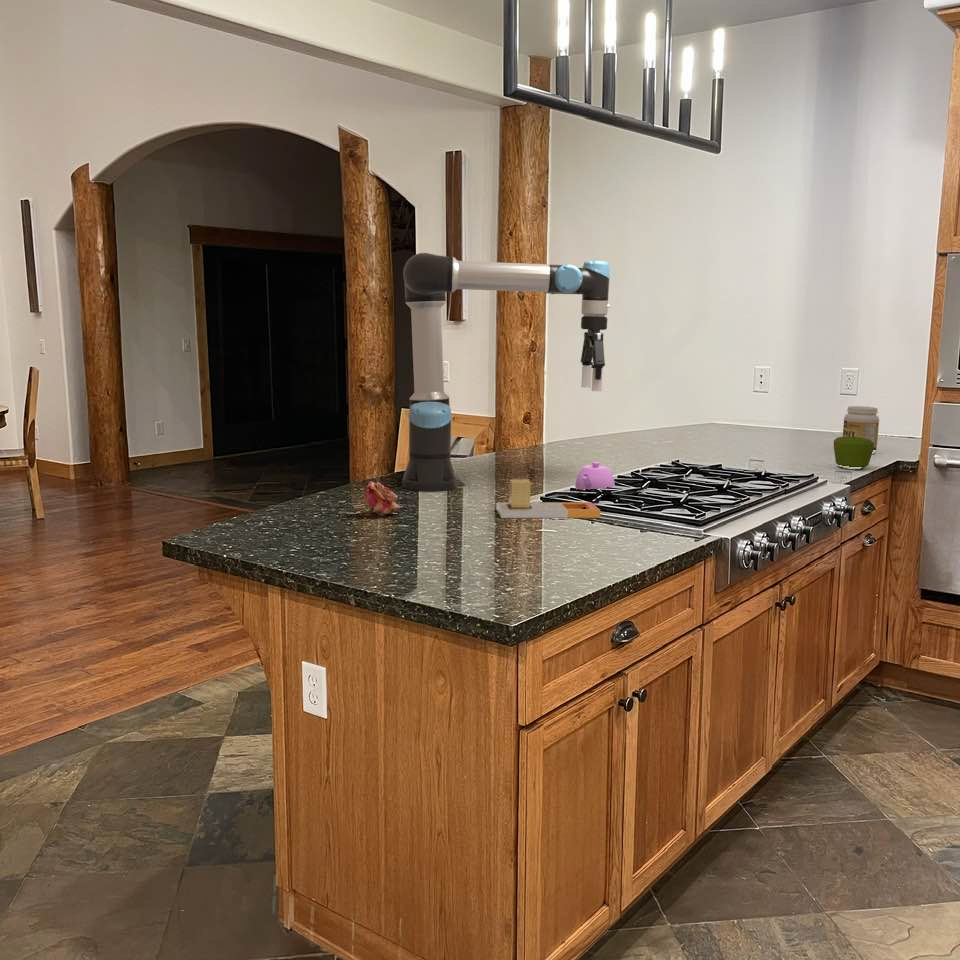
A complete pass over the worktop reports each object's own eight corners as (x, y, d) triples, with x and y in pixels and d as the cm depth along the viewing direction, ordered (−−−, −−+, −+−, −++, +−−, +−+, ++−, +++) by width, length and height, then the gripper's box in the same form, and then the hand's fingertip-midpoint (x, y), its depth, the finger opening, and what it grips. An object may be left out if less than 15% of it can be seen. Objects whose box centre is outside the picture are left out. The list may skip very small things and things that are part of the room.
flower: (357, 512, 230) (377, 485, 229) (351, 497, 238) (371, 471, 237) (389, 532, 234) (409, 506, 233) (383, 516, 242) (402, 491, 241)
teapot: (621, 494, 269) (622, 460, 268) (601, 502, 256) (602, 467, 255) (585, 490, 274) (587, 457, 272) (564, 498, 261) (566, 464, 259)
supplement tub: (834, 451, 366) (837, 405, 363) (861, 450, 370) (865, 405, 367) (855, 455, 355) (859, 409, 352) (883, 454, 358) (887, 408, 355)
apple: (879, 470, 320) (882, 436, 318) (850, 472, 316) (853, 437, 314) (852, 464, 332) (855, 431, 330) (823, 466, 327) (826, 432, 325)
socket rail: (501, 520, 232) (501, 510, 231) (496, 511, 242) (496, 502, 241) (600, 520, 234) (600, 510, 234) (591, 511, 244) (591, 502, 244)
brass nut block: (511, 515, 235) (511, 482, 233) (508, 511, 239) (509, 479, 238) (529, 515, 235) (530, 482, 234) (526, 511, 240) (527, 479, 238)
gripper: (617, 316, 270) (614, 392, 273) (597, 315, 294) (594, 386, 298) (591, 315, 269) (588, 392, 273) (572, 315, 293) (570, 385, 297)
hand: (591, 389), depth 285 cm, fingers open, 13 cm apart
